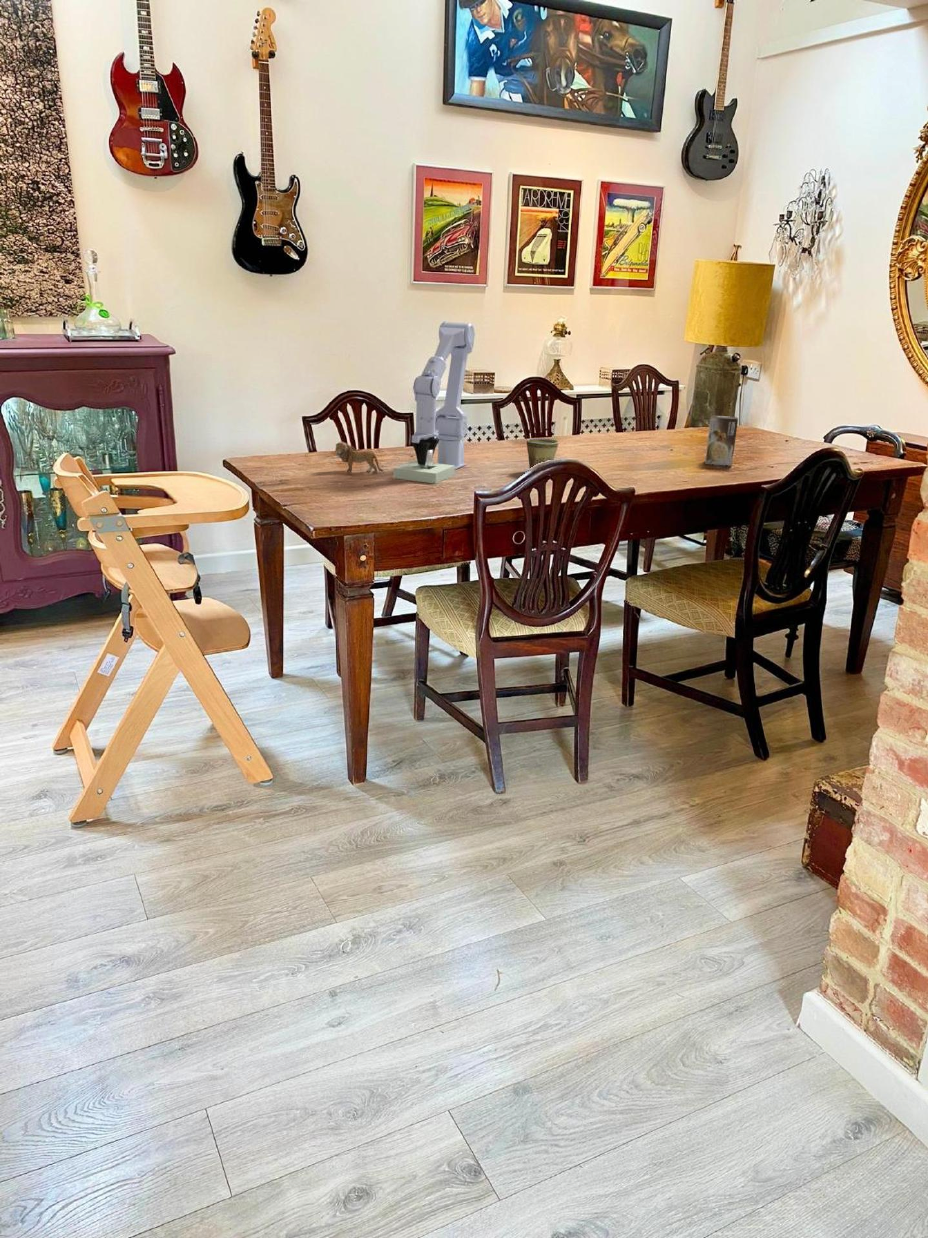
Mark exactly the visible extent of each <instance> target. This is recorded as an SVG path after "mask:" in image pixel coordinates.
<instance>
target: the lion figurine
mask: <svg viewBox="0 0 928 1238" xmlns="http://www.w3.org/2000/svg"><path fill="white" fill-rule="evenodd" d="M334 453H335V455H336V457H338V458H339V459H341V461H342V462H344V463H347V465H348V468H347V470H346V472H347V473H352V472H353V463H356V464H361V463H364V462H366V463H367V465H368V466H369V468H368V469H366V471H367V472H371V471H372V469H373V470H374V471H372V474H373V475H377V473H378V470H379V472H384V470H383V469H382V468H381V467H380V465H379V461H378V457H377V455H376V454H375V453H374V452H373V451H371V450H370V449H369V450H358V449H356V448H355V447H354V446H353V445H350V444H349V443H346V442H344V441H339V442H337V443H335V451H334Z"/></svg>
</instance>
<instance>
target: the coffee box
mask: <svg viewBox="0 0 928 1238" xmlns="http://www.w3.org/2000/svg"><path fill="white" fill-rule="evenodd" d="M709 419H710V420H709V427H708V434H707V442H706V443H707V444H706V449H705V450H706V451H705V459H704V463H705V464H706V465H712V464H713V466H726V465H727V467H732V466H733V459H734V452H735V445H736V438H737V437H736V436H737V430H738V424H739V423H738V422H739V418H738V417H737V416H728V415H727V416H725V415H714V414H713V415H710V418H709Z"/></svg>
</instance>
